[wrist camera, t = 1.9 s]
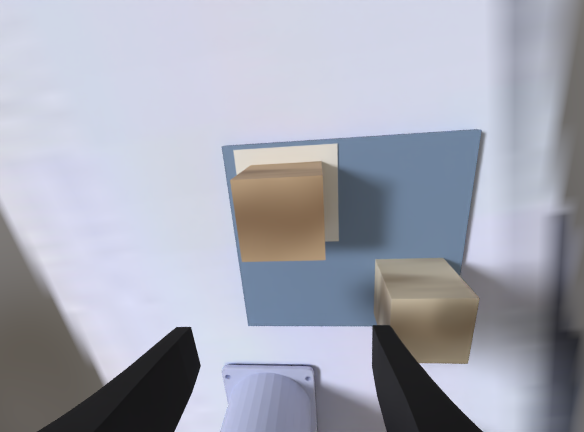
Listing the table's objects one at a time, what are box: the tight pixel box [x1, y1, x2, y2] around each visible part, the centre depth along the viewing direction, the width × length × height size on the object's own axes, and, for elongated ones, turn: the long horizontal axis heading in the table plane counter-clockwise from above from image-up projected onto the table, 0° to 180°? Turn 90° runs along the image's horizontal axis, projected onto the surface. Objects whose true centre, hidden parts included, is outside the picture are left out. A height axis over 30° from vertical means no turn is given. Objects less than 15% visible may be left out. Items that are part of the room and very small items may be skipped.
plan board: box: [222, 129, 481, 326], centre depth 19 cm, size 14×16×1 cm
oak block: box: [230, 161, 326, 262], centre depth 16 cm, size 4×4×4 cm
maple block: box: [374, 258, 480, 364], centre depth 18 cm, size 4×4×4 cm
